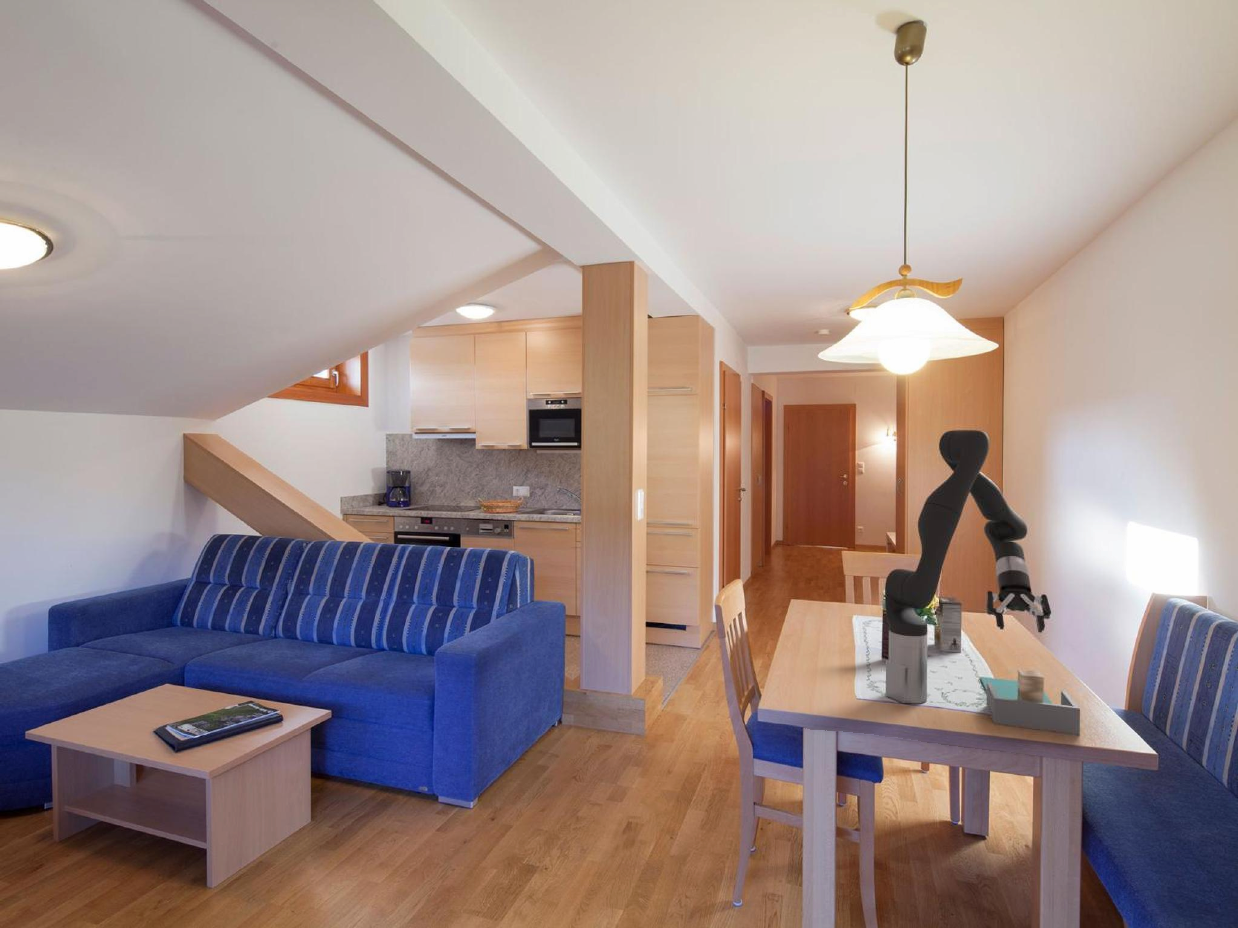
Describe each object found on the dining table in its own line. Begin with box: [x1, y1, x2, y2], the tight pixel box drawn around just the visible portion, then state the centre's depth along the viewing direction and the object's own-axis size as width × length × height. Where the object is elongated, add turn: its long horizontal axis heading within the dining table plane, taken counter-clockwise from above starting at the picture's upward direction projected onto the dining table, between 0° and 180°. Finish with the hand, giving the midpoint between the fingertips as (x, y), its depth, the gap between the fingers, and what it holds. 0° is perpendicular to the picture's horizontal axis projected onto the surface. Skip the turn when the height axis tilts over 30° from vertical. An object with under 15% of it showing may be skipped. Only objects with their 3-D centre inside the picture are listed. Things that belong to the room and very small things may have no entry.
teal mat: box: [979, 676, 1053, 704], centre depth 176 cm, size 14×18×1 cm
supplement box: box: [881, 608, 889, 663], centre depth 203 cm, size 9×5×16 cm, turn 105°
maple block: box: [1017, 669, 1045, 703], centre depth 158 cm, size 4×4×8 cm
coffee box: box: [933, 596, 963, 653], centre depth 217 cm, size 9×6×16 cm
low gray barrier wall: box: [986, 682, 1081, 736], centre depth 158 cm, size 17×12×6 cm
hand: (1021, 629), depth 169 cm, fingers open, 8 cm apart
